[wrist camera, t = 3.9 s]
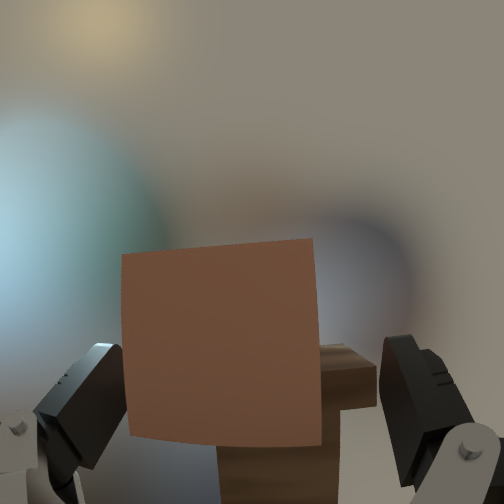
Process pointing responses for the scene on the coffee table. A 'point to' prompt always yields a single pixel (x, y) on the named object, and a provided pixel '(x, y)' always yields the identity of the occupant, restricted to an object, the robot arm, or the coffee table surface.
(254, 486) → the shelf stand
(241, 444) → the brick
